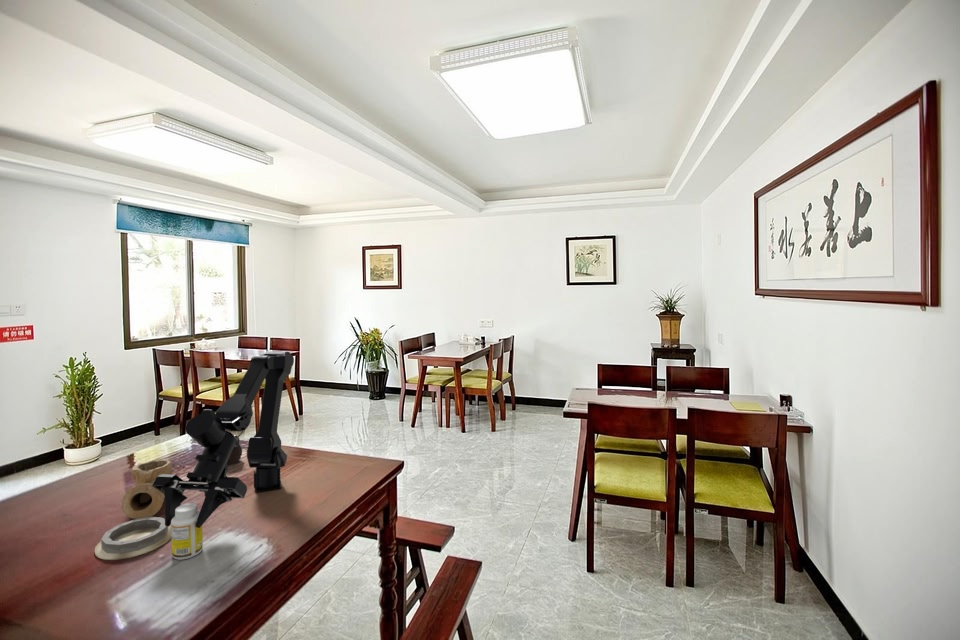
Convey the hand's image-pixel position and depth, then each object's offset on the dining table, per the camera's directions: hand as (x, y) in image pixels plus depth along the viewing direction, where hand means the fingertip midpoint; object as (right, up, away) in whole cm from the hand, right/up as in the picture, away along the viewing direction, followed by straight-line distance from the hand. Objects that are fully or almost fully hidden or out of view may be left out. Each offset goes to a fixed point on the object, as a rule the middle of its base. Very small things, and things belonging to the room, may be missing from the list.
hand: (182, 526), depth 94 cm
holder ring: (-14, -6, +6) cm, 17 cm away
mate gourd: (-19, -3, +52) cm, 56 cm away
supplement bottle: (0, -7, +2) cm, 7 cm away
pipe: (-23, -5, +22) cm, 32 cm away
